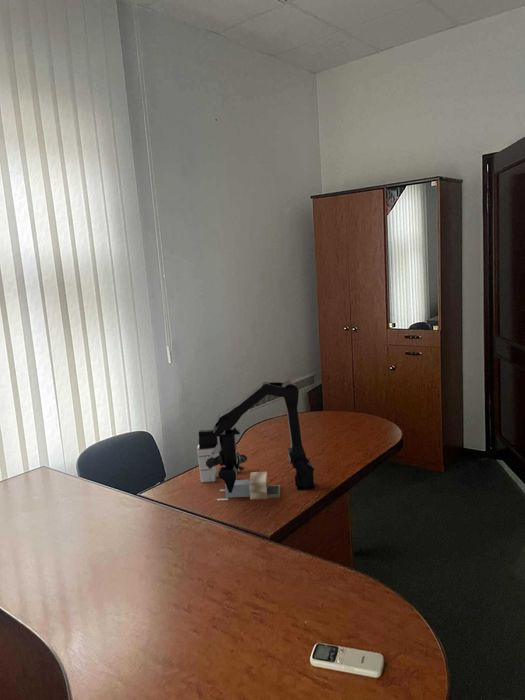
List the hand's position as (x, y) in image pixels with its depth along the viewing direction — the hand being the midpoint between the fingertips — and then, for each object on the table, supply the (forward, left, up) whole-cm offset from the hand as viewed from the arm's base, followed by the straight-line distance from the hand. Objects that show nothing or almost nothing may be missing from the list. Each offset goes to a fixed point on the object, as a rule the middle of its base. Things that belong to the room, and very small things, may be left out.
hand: (231, 487), depth 201 cm
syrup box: (+11, -16, -3) cm, 20 cm away
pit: (-15, 0, -3) cm, 15 cm away
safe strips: (+3, 0, -3) cm, 4 cm away
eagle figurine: (+1, -23, -3) cm, 23 cm away
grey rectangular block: (-5, 0, -3) cm, 6 cm away
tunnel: (-10, 0, -3) cm, 10 cm away
